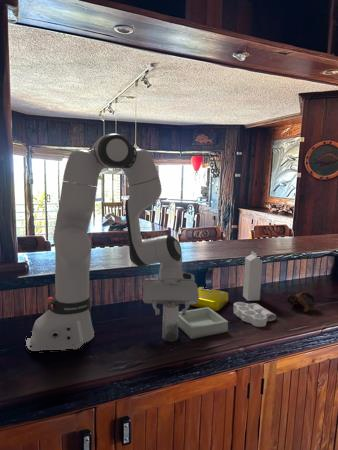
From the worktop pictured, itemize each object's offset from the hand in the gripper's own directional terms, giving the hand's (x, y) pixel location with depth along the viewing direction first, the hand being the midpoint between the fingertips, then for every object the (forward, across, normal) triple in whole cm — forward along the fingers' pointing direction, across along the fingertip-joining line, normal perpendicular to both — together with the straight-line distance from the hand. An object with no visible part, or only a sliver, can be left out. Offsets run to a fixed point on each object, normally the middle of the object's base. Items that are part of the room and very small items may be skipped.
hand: (170, 314), depth 117 cm
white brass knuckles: (-6, +34, +18) cm, 39 cm away
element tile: (-16, +18, +29) cm, 38 cm away
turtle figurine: (-13, +57, +25) cm, 64 cm away
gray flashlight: (+7, 0, +5) cm, 8 cm away
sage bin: (0, +11, +11) cm, 16 cm away
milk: (-21, +39, +33) cm, 55 cm away
